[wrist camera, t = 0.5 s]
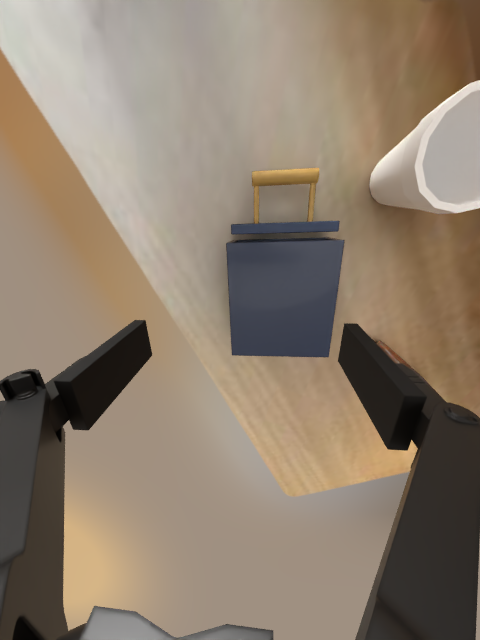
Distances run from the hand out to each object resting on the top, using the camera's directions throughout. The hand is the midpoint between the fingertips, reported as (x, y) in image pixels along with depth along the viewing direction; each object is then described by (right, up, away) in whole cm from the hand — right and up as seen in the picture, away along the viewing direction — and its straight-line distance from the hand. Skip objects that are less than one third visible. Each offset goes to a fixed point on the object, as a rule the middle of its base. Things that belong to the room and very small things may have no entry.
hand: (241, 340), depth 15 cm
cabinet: (+6, +6, +23) cm, 25 cm away
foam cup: (+21, +20, +16) cm, 33 cm away
